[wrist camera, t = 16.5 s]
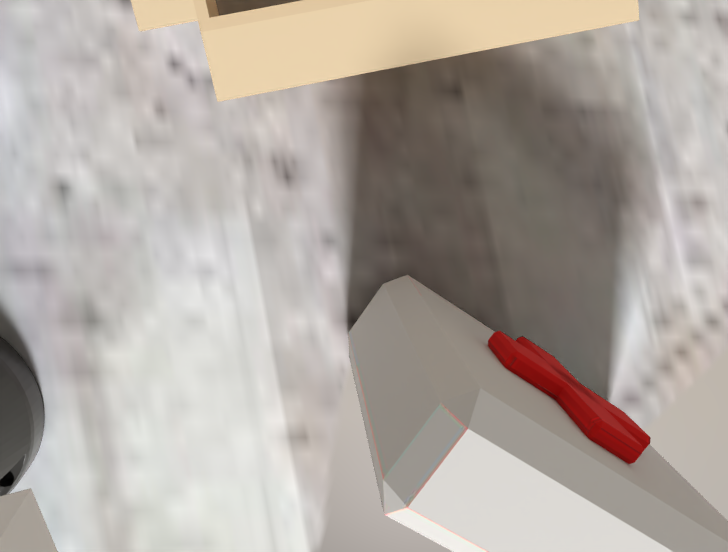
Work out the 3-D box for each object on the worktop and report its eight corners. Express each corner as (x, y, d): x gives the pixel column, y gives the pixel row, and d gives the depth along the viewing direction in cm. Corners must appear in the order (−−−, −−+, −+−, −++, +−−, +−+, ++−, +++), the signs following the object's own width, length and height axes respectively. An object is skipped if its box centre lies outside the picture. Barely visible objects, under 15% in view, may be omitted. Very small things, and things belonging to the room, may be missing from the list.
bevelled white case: (625, 397, 49) (837, 589, 30) (560, 478, 51) (723, 711, 32) (401, 248, 45) (485, 365, 25) (335, 342, 46) (367, 521, 27)
